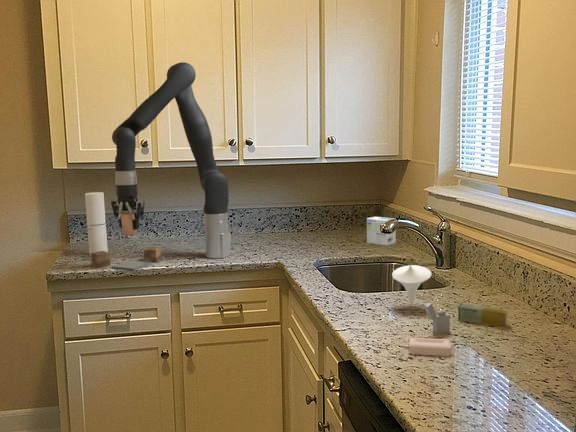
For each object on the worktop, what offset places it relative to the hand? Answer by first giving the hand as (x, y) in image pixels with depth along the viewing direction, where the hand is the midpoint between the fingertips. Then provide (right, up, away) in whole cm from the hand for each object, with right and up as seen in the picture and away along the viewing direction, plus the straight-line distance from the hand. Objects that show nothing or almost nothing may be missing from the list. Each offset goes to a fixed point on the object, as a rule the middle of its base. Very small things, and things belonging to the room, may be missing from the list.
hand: (129, 228), depth 222 cm
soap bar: (+91, -26, -84) cm, 126 cm away
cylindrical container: (-19, -11, +24) cm, 33 cm away
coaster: (0, -14, +2) cm, 14 cm away
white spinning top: (+93, -21, -52) cm, 108 cm away
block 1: (-12, -14, +5) cm, 19 cm away
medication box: (+108, -23, -66) cm, 129 cm away
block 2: (+6, -13, +10) cm, 18 cm away
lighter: (+95, -24, -73) cm, 122 cm away
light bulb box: (+98, -7, +34) cm, 104 cm away
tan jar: (0, -2, 0) cm, 2 cm away
